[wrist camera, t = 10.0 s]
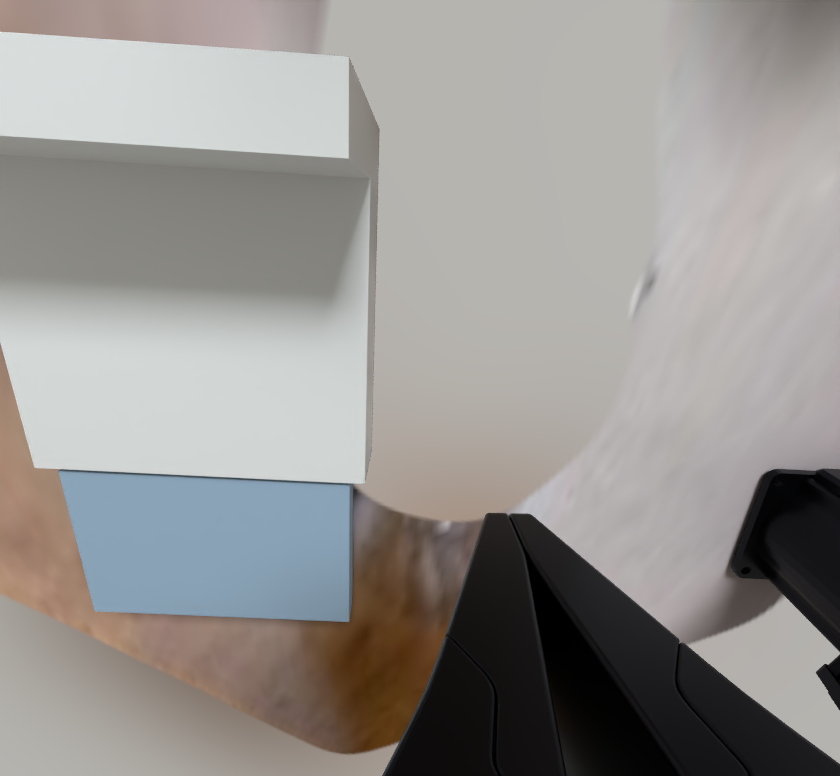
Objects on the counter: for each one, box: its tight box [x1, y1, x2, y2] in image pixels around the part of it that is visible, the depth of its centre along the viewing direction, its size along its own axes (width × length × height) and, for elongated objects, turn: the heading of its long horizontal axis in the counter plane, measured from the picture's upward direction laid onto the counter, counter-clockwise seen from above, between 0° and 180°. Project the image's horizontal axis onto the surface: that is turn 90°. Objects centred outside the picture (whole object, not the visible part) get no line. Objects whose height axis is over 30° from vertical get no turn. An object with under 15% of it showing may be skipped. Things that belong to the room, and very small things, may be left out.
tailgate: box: [58, 469, 353, 622], centre depth 22 cm, size 2×13×8 cm
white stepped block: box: [0, 32, 379, 484], centre depth 16 cm, size 14×14×8 cm
